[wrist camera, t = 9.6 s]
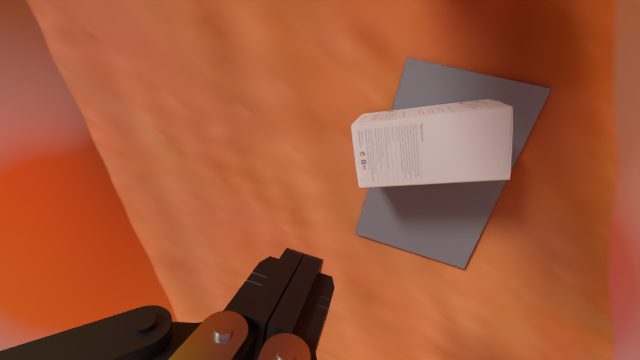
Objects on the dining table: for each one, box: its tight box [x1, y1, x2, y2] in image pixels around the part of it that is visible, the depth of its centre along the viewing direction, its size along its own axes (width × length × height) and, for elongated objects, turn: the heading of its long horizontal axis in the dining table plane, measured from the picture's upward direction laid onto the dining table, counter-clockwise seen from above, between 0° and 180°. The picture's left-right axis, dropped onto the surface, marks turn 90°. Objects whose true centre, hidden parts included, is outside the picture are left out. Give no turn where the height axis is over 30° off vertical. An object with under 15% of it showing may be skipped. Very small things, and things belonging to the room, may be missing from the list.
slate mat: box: [355, 58, 551, 269], centre depth 34 cm, size 22×14×1 cm, turn 167°
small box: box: [351, 99, 513, 188], centre depth 30 cm, size 8×6×13 cm
